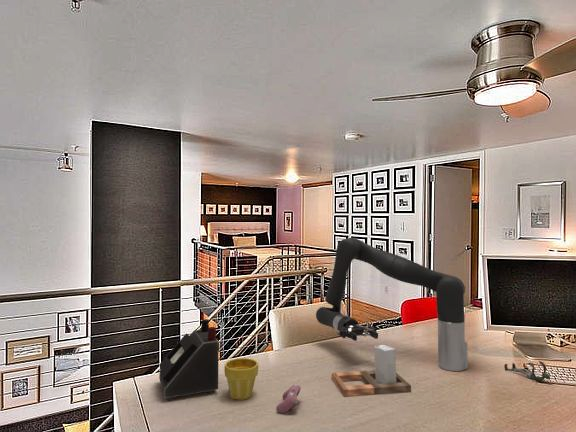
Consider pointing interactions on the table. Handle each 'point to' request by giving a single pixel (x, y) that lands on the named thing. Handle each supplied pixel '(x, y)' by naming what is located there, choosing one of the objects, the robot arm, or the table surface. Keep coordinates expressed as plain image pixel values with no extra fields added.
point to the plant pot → (241, 377)
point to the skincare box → (385, 364)
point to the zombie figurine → (529, 374)
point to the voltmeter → (191, 364)
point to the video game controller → (289, 399)
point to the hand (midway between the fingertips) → (366, 336)
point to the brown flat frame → (368, 384)
